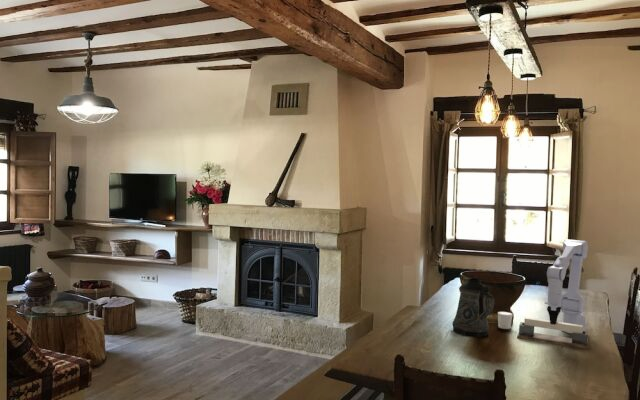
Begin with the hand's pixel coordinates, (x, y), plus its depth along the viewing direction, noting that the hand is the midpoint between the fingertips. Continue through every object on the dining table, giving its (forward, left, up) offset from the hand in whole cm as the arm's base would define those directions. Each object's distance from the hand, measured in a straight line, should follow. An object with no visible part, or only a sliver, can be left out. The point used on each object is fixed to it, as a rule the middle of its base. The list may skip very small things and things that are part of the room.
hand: (553, 323), depth 243 cm
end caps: (0, 0, -8) cm, 8 cm away
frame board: (0, 0, -8) cm, 8 cm away
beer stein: (+31, -14, -8) cm, 35 cm away
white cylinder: (+11, -22, -8) cm, 26 cm away
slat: (0, 0, -2) cm, 2 cm away
